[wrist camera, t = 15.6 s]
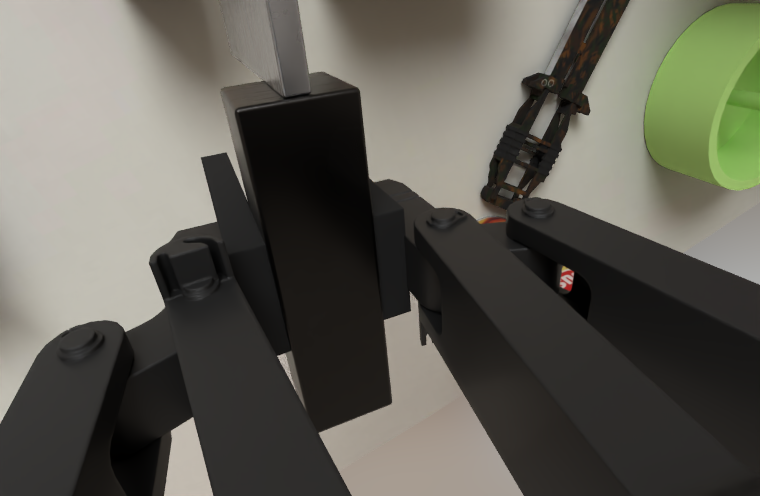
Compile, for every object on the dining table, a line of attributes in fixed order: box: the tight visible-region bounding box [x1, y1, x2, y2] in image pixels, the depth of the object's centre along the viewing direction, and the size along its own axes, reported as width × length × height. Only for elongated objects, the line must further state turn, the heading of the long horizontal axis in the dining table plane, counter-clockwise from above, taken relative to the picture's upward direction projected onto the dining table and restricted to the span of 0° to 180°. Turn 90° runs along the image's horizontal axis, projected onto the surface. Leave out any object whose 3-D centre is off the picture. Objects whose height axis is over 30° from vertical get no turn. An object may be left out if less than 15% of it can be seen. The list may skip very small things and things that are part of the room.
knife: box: [481, 0, 630, 210], centre depth 35 cm, size 25×6×1 cm, turn 151°
